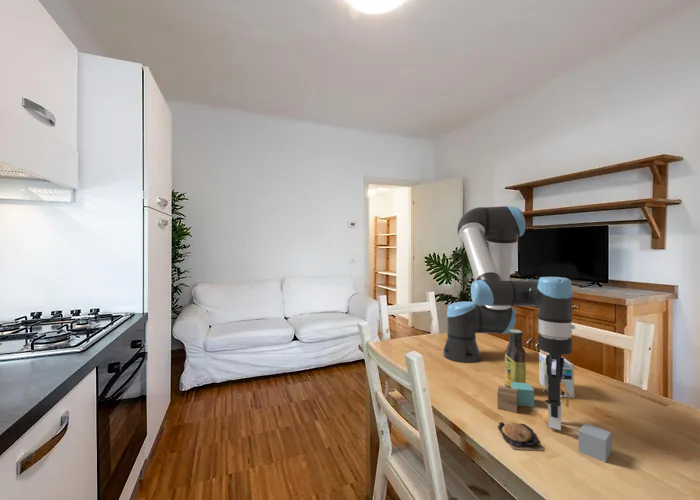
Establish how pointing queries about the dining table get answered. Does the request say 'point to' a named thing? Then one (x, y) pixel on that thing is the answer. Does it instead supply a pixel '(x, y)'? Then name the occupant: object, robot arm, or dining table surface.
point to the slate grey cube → (594, 442)
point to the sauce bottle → (515, 359)
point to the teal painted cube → (524, 394)
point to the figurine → (562, 388)
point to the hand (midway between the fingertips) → (555, 422)
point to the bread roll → (520, 437)
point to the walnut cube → (507, 399)
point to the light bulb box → (566, 378)
